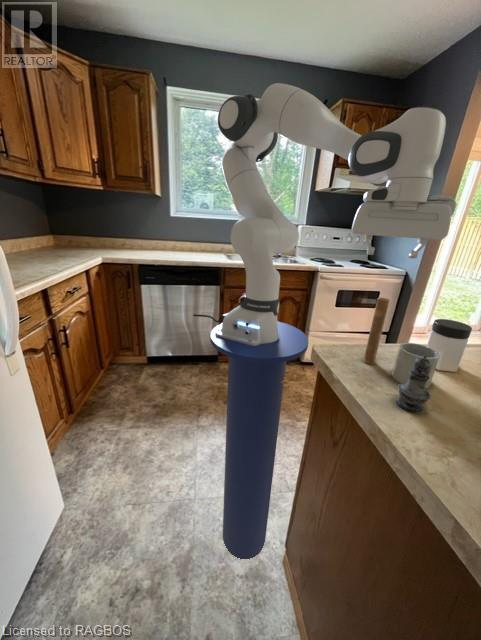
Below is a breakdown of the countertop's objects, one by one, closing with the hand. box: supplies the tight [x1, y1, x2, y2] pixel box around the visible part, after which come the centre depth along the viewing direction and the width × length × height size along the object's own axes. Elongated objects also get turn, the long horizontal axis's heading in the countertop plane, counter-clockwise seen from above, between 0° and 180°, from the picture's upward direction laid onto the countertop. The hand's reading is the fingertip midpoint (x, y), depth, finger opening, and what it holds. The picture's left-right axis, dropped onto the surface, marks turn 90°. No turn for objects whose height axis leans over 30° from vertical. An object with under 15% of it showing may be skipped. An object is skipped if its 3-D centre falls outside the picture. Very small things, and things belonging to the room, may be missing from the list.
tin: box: [391, 342, 440, 389], centre depth 66 cm, size 8×8×8 cm
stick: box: [363, 297, 391, 365], centre depth 72 cm, size 3×3×18 cm
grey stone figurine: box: [395, 355, 432, 414], centre depth 55 cm, size 6×6×12 cm
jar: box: [426, 318, 473, 373], centre depth 73 cm, size 9×8×12 cm
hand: (390, 256), depth 67 cm, fingers open, 8 cm apart
